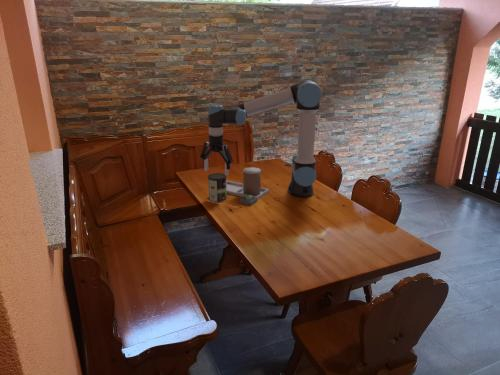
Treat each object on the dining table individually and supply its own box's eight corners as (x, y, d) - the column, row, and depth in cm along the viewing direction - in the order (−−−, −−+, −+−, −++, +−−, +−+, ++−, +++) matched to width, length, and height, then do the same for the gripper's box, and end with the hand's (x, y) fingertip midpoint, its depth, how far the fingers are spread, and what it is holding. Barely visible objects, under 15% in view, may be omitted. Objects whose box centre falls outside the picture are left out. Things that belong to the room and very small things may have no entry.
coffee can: (227, 196, 212) (227, 173, 207) (226, 203, 202) (225, 179, 197) (209, 195, 212) (208, 172, 207) (207, 203, 203) (206, 178, 198)
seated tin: (263, 192, 216) (264, 169, 211) (255, 197, 207) (255, 174, 202) (248, 188, 220) (248, 166, 215) (239, 194, 212) (239, 171, 207)
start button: (253, 200, 202) (253, 195, 201) (250, 202, 199) (250, 197, 198) (247, 199, 204) (247, 194, 203) (243, 201, 201) (243, 196, 200)
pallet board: (269, 193, 217) (269, 189, 216) (256, 201, 205) (256, 197, 204) (228, 184, 230) (227, 180, 229) (214, 191, 218) (214, 187, 217)
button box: (257, 202, 203) (257, 197, 202) (251, 207, 198) (251, 201, 197) (246, 200, 207) (246, 195, 206) (240, 204, 201) (240, 199, 200)
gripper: (239, 136, 191) (239, 174, 199) (201, 130, 203) (202, 167, 211) (231, 139, 185) (232, 178, 193) (192, 132, 197) (194, 170, 204)
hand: (216, 172), depth 202 cm, fingers open, 13 cm apart
